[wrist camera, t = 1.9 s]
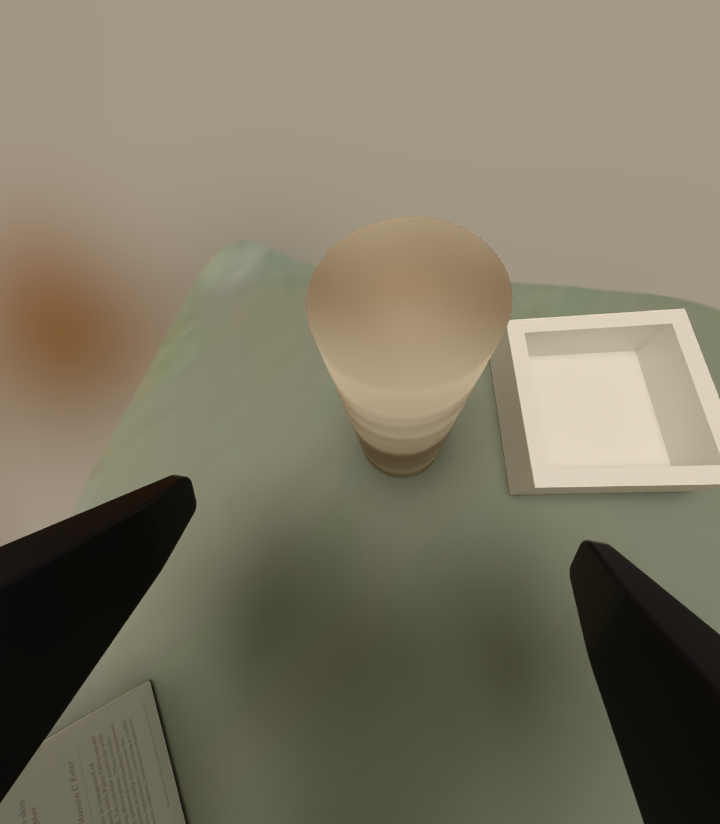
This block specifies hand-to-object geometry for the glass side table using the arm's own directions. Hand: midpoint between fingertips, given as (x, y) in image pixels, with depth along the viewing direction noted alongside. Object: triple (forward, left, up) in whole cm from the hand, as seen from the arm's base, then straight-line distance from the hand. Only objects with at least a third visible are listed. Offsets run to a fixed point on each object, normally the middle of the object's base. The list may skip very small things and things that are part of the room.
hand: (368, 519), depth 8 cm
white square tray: (+6, -11, -11) cm, 17 cm away
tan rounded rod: (+5, -1, -11) cm, 12 cm away
